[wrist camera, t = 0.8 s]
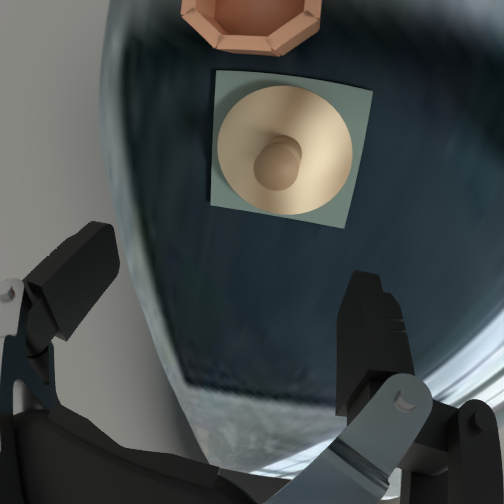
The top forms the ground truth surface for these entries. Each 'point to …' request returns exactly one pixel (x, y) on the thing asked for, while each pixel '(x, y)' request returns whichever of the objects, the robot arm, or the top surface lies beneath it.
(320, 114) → the lid
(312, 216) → the mat
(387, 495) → the skincare box
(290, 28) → the bowl
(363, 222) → the top surface
